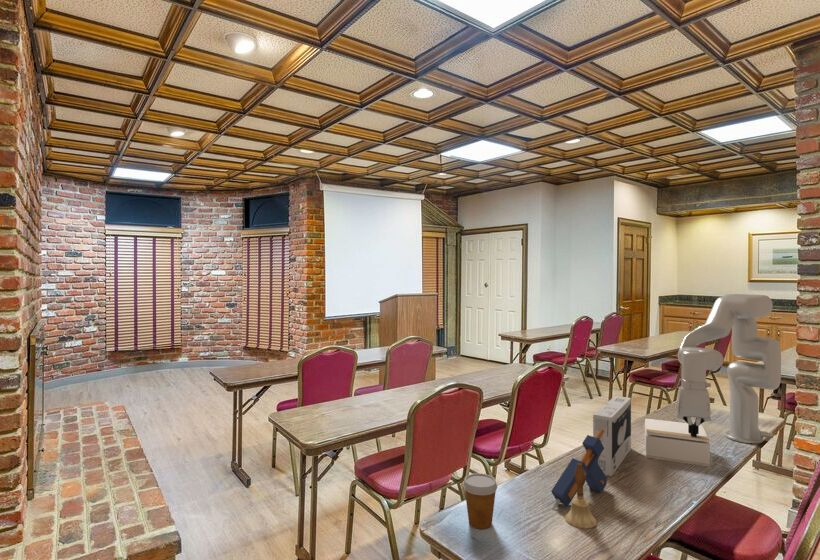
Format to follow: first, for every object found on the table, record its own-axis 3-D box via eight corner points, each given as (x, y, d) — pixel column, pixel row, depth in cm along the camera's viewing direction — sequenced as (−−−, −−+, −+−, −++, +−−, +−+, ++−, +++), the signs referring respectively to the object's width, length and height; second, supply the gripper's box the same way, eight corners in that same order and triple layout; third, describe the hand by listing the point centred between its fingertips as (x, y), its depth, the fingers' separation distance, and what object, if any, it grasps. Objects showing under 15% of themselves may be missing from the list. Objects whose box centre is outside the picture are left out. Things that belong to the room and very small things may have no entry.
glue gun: (563, 533, 139) (544, 502, 134) (603, 453, 155) (587, 422, 150) (581, 541, 134) (562, 509, 129) (620, 457, 150) (604, 426, 145)
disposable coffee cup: (504, 522, 127) (504, 479, 127) (485, 537, 120) (485, 491, 120) (475, 510, 133) (475, 469, 133) (456, 524, 126) (455, 480, 126)
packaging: (611, 476, 155) (611, 417, 154) (592, 471, 158) (592, 414, 158) (631, 448, 179) (631, 397, 179) (614, 445, 183) (614, 395, 182)
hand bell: (576, 530, 122) (576, 471, 122) (559, 514, 131) (559, 459, 130) (603, 526, 124) (603, 468, 124) (584, 511, 132) (584, 456, 132)
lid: (701, 427, 178) (701, 424, 178) (709, 442, 161) (709, 439, 161) (645, 420, 186) (645, 417, 186) (646, 434, 170) (646, 431, 170)
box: (702, 449, 178) (702, 428, 178) (709, 466, 162) (709, 444, 161) (644, 441, 186) (644, 421, 186) (646, 457, 170) (646, 436, 170)
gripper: (716, 384, 165) (716, 435, 165) (668, 380, 172) (668, 429, 172) (720, 389, 158) (720, 442, 159) (670, 385, 165) (670, 436, 165)
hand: (693, 435), depth 165 cm, fingers closed
